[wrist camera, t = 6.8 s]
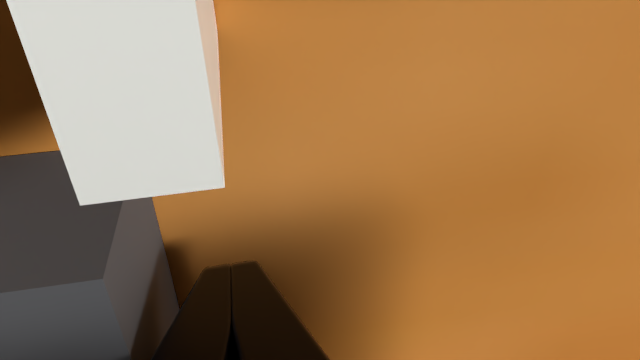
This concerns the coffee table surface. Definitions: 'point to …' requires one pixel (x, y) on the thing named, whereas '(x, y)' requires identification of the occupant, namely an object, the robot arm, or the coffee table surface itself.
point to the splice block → (77, 269)
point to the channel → (128, 92)
